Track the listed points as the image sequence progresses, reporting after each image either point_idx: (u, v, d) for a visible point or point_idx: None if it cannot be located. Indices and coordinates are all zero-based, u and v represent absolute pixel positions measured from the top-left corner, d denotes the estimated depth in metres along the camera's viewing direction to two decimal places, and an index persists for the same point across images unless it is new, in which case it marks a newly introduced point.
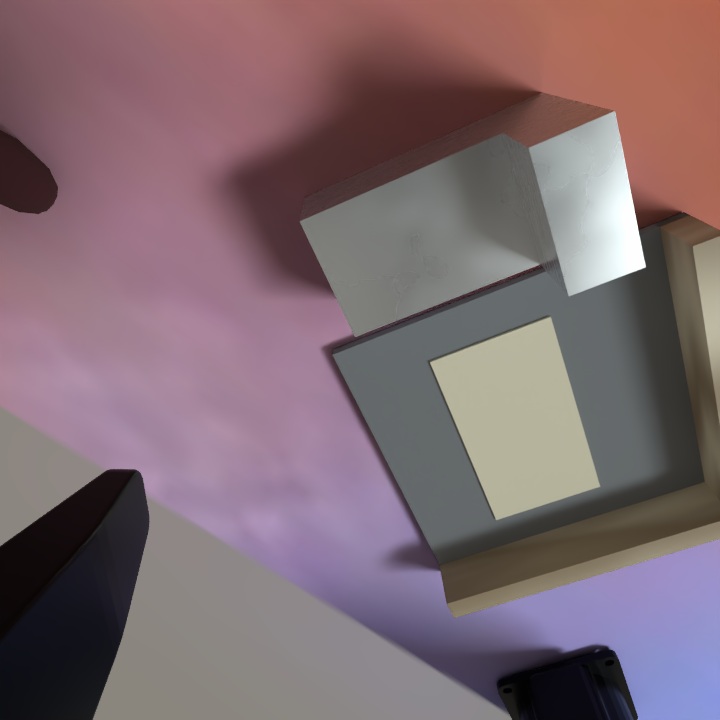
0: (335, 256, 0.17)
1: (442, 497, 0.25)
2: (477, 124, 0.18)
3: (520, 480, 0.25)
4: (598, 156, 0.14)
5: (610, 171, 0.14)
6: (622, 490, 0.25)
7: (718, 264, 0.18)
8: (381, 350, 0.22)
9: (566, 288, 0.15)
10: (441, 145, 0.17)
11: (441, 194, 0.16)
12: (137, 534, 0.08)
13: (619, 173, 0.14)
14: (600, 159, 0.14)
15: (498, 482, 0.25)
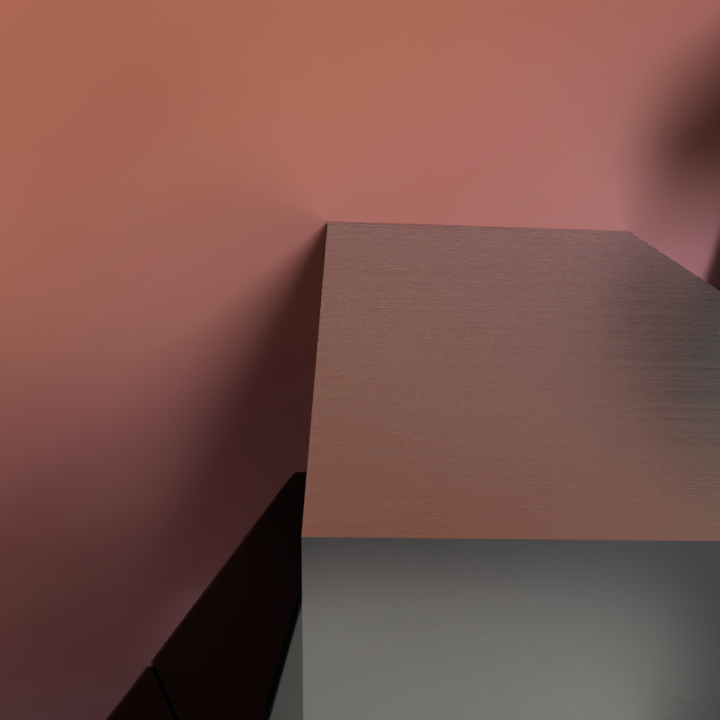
0: None
1: None
2: None
3: None
4: (461, 618, 0.03)
5: (554, 589, 0.03)
6: None
7: None
8: None
9: None
10: None
11: None
12: None
13: (587, 562, 0.03)
14: (479, 611, 0.03)
15: None
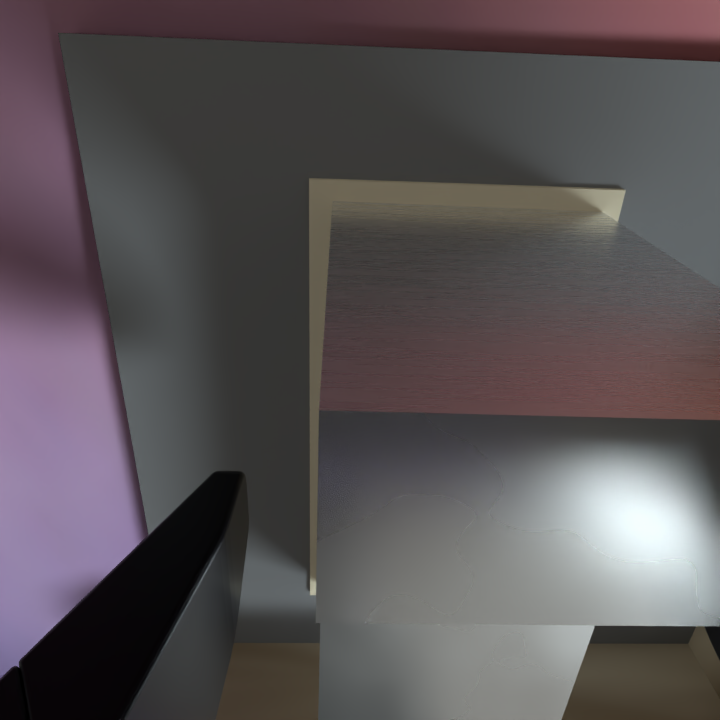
0: (402, 714, 0.09)
1: None
2: None
3: None
4: (440, 482, 0.04)
5: (510, 459, 0.04)
6: None
7: None
8: (199, 85, 0.08)
9: None
10: None
11: None
12: (243, 535, 0.08)
13: (535, 435, 0.04)
14: (453, 477, 0.04)
15: None
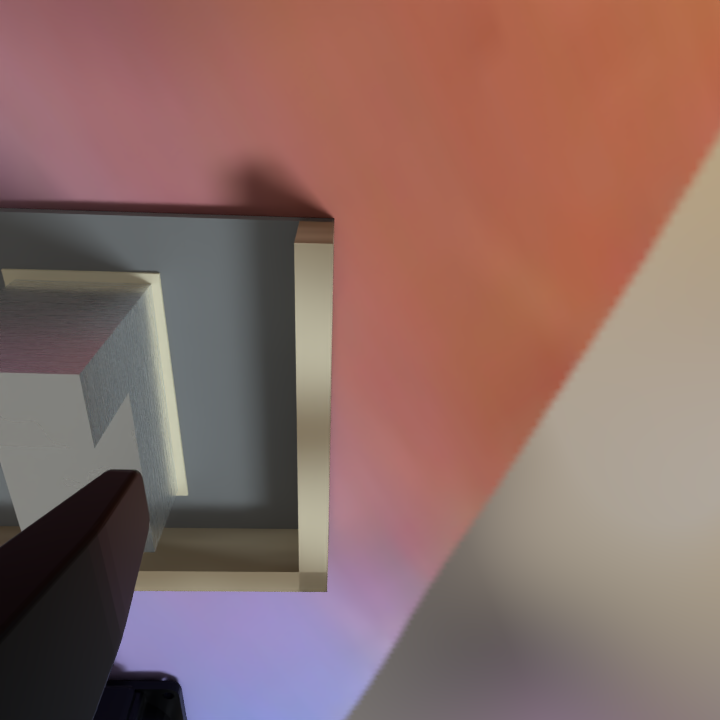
0: None
1: None
2: None
3: None
4: None
5: None
6: (212, 508, 0.22)
7: (320, 277, 0.16)
8: None
9: (85, 446, 0.14)
10: None
11: (28, 451, 0.17)
12: (137, 534, 0.08)
13: None
14: None
15: None
